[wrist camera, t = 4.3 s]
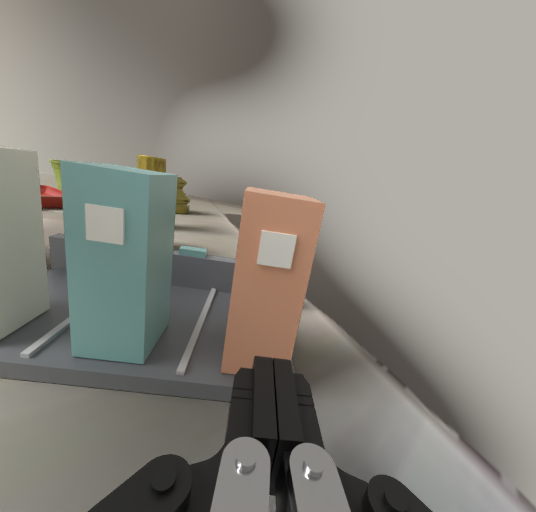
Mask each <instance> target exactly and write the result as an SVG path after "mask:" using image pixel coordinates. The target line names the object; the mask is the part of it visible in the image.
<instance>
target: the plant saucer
mask: <svg viewBox="0 0 536 512" xmlns="http://www.w3.org/2000/svg"><path fill="white" fill-rule="evenodd" d="M40 193H41V205H42V208H63V200H62V190H59V189H56V188H53V187H50V186H45V185H40Z"/></svg>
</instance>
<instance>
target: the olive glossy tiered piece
mask: <svg viewBox="0 0 536 512" xmlns="http://www.w3.org/2000/svg"><path fill="white" fill-rule="evenodd" d="M186 184H187V182H186V181H185V180H183V179H182V178H181V177H178V179H177V195H176V211H175V214H187V213H189V207H190V206H189V205H187V204H188V203H189V202H190V198H189V197H188V196H187V195H186V193H184V191H183V187H184V186H185V185H186Z"/></svg>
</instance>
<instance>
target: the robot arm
mask: <svg viewBox="0 0 536 512" xmlns="http://www.w3.org/2000/svg"><path fill="white" fill-rule="evenodd" d="M269 495H276V512H432V511H431V510H430V509H429V508H428V507H427V506H426V505H425V504H424V503H423V502H421V501H420V500H419V499H418V498H417V497H416V496H415V495H414V494H413V493H412V492H411V491H410V490H409V489H408V488H407V487H406V486H404V485H403V484H402V483H401V482H399V481H398V480H396V479H394V478H393V477H390V476H387V475H376V476H374V477H373V478H371V480H370V481H369V483H367V482H365V481H363V480H360V479H358V478H356V477H354V476H351V475H349V474H347V473H345V472H344V471H342V470H341V469H339V468H338V467H337V466H336V465H335V462H334V461H333V459H332V457H331V456H330V455H329V454H328V452H327V451H325V449H324V445H323V441H322V437H321V432H320V428H319V424H318V420H317V415H316V411H315V408H314V402H313V398H312V394H311V389H310V385H309V383H308V382H307V381H306V379H305V378H304V376H303V375H302V374H295V373H293V370H292V364H291V360H288V359H280V358H273V359H272V358H271V357H263V356H254V361H253V367H252V369H251V368H242V367H241V368H240V369H239V370H238V372H237V373H236V374H235V376H234V381H233V388H232V394H231V401H230V408H229V415H228V423H227V430H226V438H225V443H224V445H223V447H222V448H221V450H220V451H219V452H218V453H217V454H216V455H214V456H213V457H212V458H210V459H208V460H205V461H202V462H198V463H195V464H191V465H189V464H188V463H187V461H186V460H185V459H183V458H182V457H180V456H177V455H172V454H169V455H162V456H159V457H157V458H155V459H153V460H151V461H150V462H149V463H147V464H146V465H145V466H144V467H142V468H141V469H140V470H139V471H137V472H136V473H135V474H134V475H132V476H131V477H130V478H129V479H127V480H126V481H125V482H124V483H123V484H121V485H120V486H119V487H118V488H116V489H115V490H114V491H113V492H111V493H110V494H109V495H108V496H106V497H105V498H104V499H103V500H101V501H100V502H99V503H98V504H96V505H95V506H94V507H93V508H91V509H90V510H89V511H88V512H269Z"/></svg>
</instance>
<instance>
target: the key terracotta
mask: <svg viewBox="0 0 536 512" xmlns="http://www.w3.org/2000/svg"><path fill="white" fill-rule="evenodd" d="M324 209H325V203H323V202H320V201H318V200H316V199H313V198H311V197H308V196H302V195H295V194H290V193H284V192H277V191H272V190H265V189H260V188H254V187H248V188H247V189H246V190H245V193H244V200H243V208H242V215H241V224H240V230H239V238H238V246H237V253H236V261H235V268H234V276H233V283H232V291H231V298H230V306H229V313H228V321H227V328H226V336H225V343H224V351H223V358H222V366H221V373H227V374H236V373H237V372H238V370H239V369H240V368H241V367H242V368H251V369H252V367H253V361H254V356H263V357H271V358H272V359H273V358H280V359H288V360H291V358H292V354H293V349H294V345H295V340H296V336H297V331H298V327H299V322H300V318H301V313H302V309H303V304H304V299H305V295H306V290H307V286H308V281H309V277H310V272H311V267H312V263H313V259H314V254H315V249H316V245H317V241H318V236H319V231H320V227H321V222H322V218H323V213H324Z"/></svg>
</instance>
